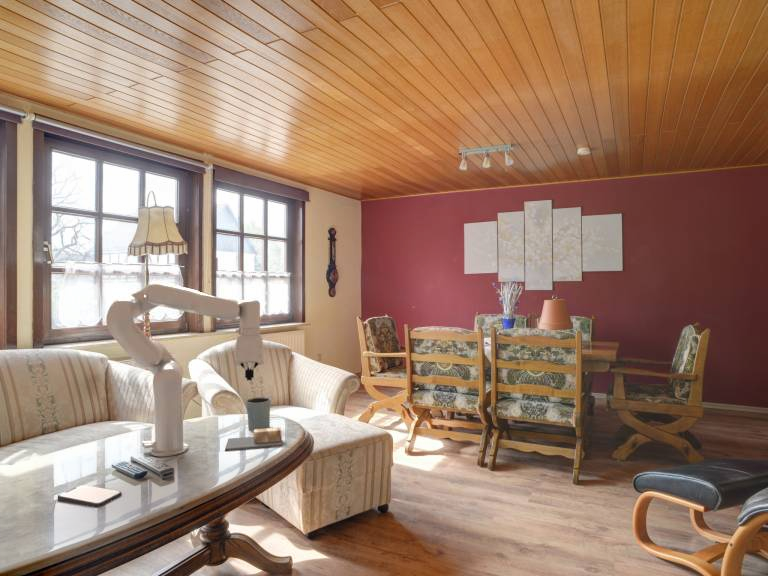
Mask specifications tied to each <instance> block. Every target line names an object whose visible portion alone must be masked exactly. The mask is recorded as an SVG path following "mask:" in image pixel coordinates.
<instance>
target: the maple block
mask: <svg viewBox="0 0 768 576" xmlns="http://www.w3.org/2000/svg"><path fill="white" fill-rule="evenodd" d="M281 428H282V427H280V426H279V427H269V428H266V429H254V431H253V437H254V443H260V442H272V441H281V442H282V431H281V430H282V429H281Z"/></svg>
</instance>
